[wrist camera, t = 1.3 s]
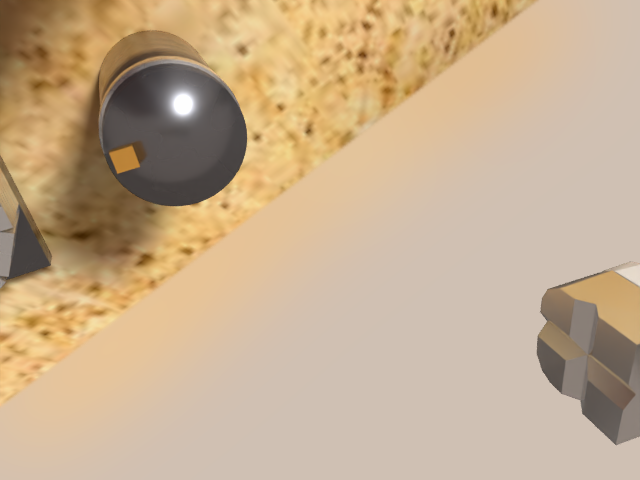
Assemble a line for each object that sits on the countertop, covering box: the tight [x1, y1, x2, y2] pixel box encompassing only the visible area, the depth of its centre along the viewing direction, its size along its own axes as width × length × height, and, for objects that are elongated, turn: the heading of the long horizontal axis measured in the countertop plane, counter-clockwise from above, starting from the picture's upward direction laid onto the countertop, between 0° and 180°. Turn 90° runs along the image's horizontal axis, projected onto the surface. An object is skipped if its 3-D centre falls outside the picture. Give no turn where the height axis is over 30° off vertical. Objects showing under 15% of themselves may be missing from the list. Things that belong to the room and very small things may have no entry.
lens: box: [98, 31, 247, 206], centre depth 25 cm, size 5×5×8 cm
